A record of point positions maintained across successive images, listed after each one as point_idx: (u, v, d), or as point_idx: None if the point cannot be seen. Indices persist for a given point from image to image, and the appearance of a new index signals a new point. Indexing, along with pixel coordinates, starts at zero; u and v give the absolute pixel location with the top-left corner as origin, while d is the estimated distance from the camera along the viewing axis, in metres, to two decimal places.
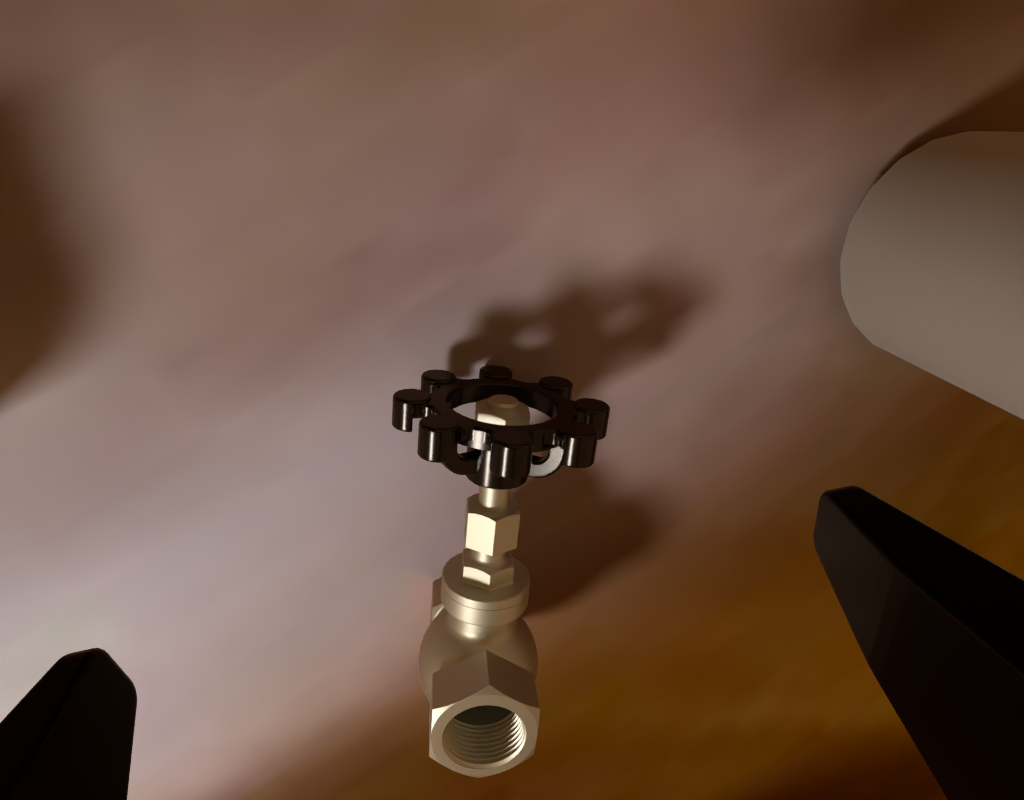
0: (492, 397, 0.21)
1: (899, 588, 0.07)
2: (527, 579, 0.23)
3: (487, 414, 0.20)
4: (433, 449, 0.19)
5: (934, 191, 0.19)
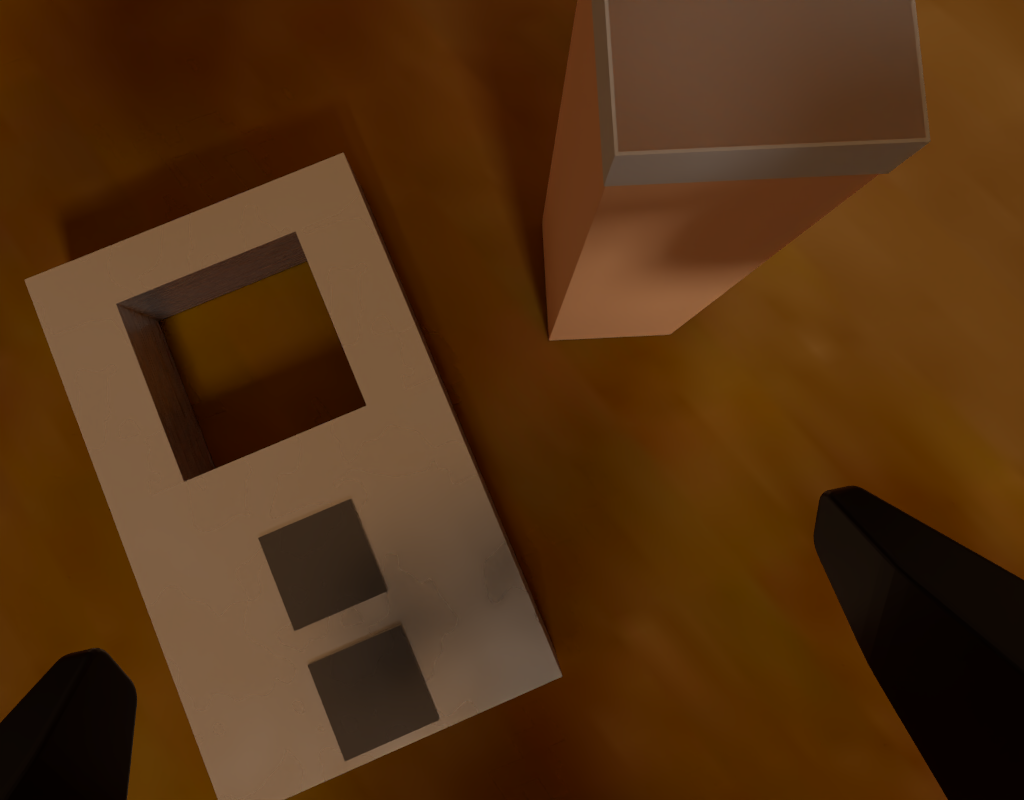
0: None
1: (899, 588, 0.07)
2: None
3: None
4: None
5: None
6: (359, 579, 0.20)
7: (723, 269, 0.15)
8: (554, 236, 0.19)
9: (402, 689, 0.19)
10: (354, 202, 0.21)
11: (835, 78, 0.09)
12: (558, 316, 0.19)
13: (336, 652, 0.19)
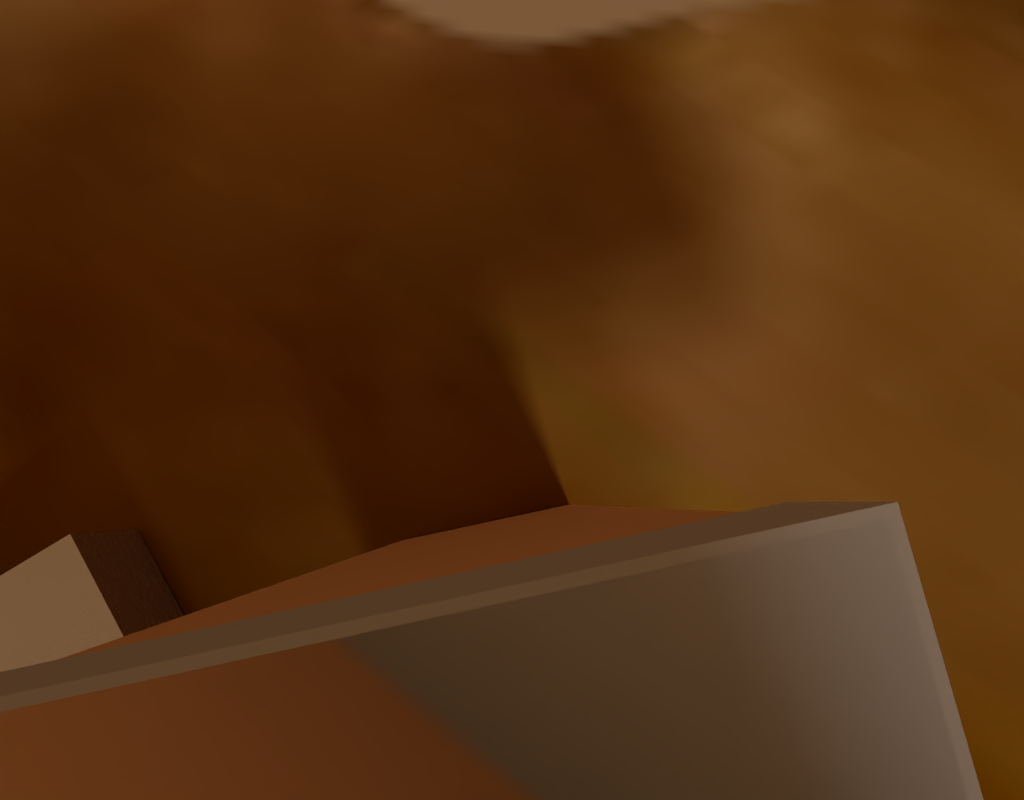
0: None
1: None
2: None
3: None
4: None
5: None
6: None
7: None
8: None
9: None
10: (93, 609, 0.14)
11: None
12: None
13: None
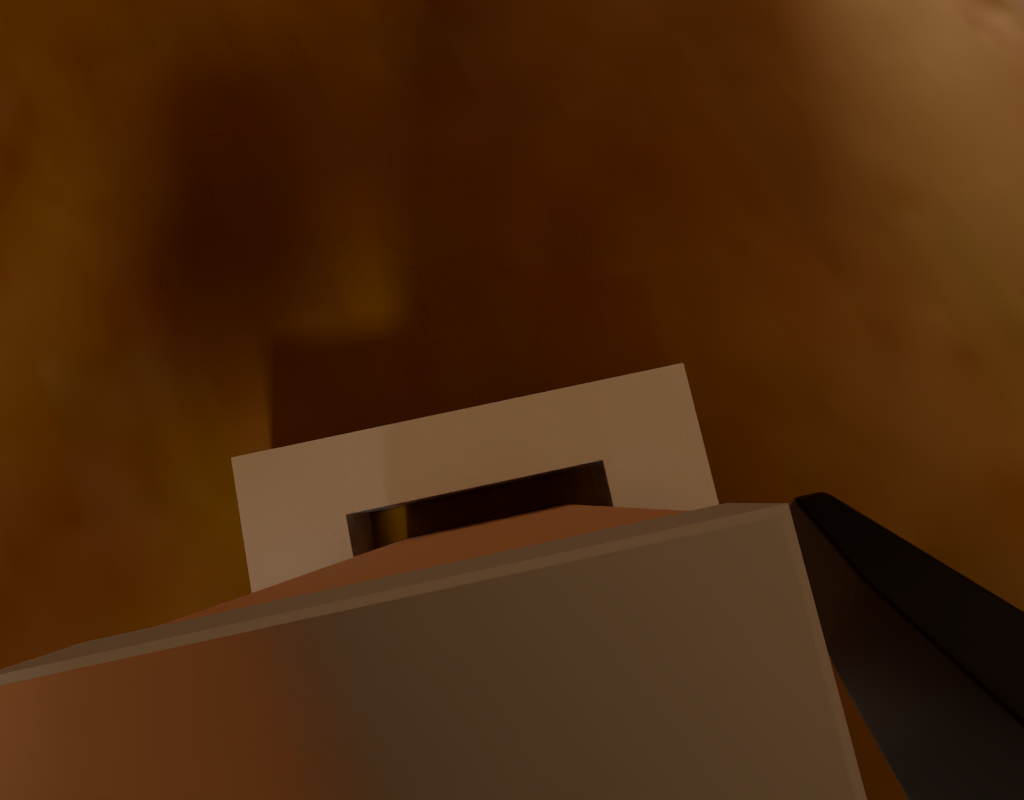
0: None
1: (863, 596, 0.07)
2: None
3: None
4: None
5: None
6: None
7: None
8: None
9: None
10: (688, 434, 0.15)
11: None
12: None
13: None
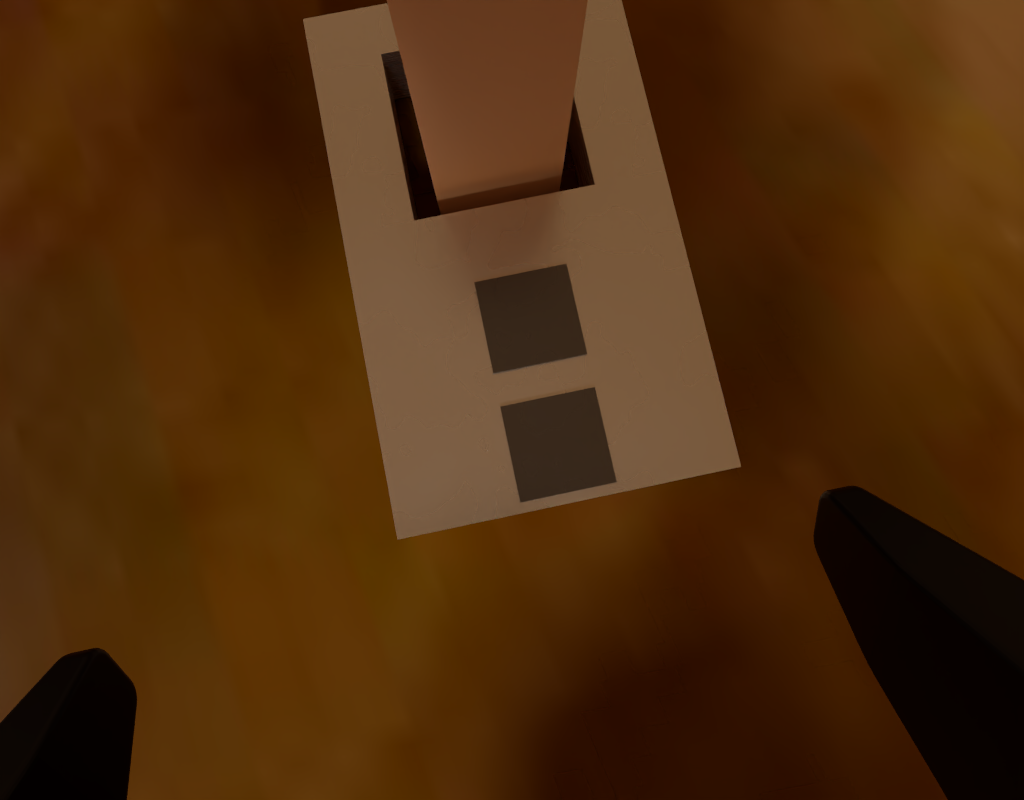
0: None
1: (899, 588, 0.07)
2: None
3: None
4: None
5: None
6: (561, 338, 0.20)
7: (549, 58, 0.16)
8: None
9: (585, 448, 0.20)
10: (614, 4, 0.22)
11: None
12: (430, 171, 0.20)
13: (529, 400, 0.20)
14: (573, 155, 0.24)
